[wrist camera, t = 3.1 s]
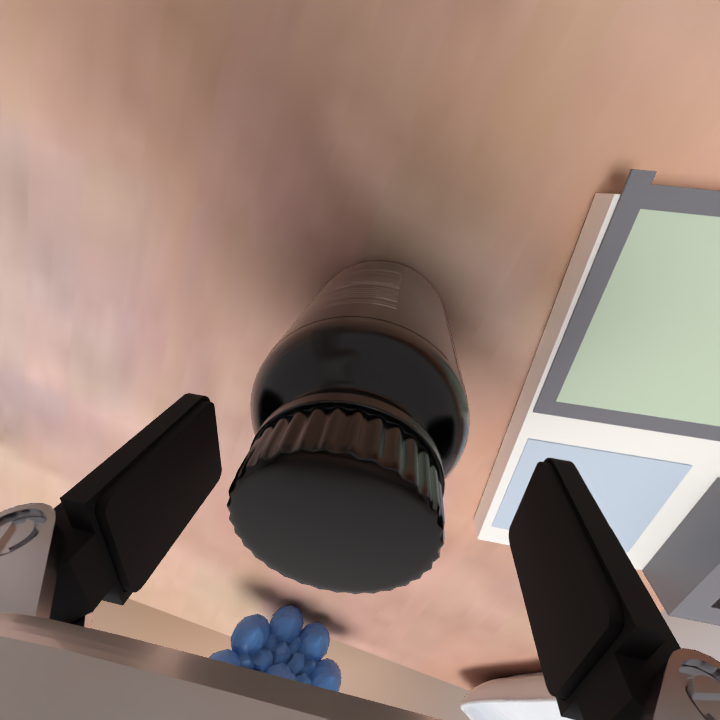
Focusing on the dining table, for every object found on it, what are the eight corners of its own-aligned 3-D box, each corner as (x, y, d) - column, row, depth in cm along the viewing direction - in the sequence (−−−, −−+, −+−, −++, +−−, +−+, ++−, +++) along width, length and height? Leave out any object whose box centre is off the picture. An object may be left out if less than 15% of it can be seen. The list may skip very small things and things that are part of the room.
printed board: (604, 170, 13) (626, 168, 12) (1145, 221, 12) (1244, 226, 10) (473, 518, 23) (477, 540, 22) (761, 572, 22) (785, 599, 20)
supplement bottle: (298, 348, 19) (154, 550, 9) (346, 232, 16) (208, 326, 5) (407, 400, 20) (397, 651, 9) (474, 297, 16) (581, 501, 6)
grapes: (223, 599, 33) (132, 794, 22) (249, 568, 30) (158, 777, 19) (325, 648, 34) (286, 852, 24) (360, 624, 31) (332, 846, 21)
